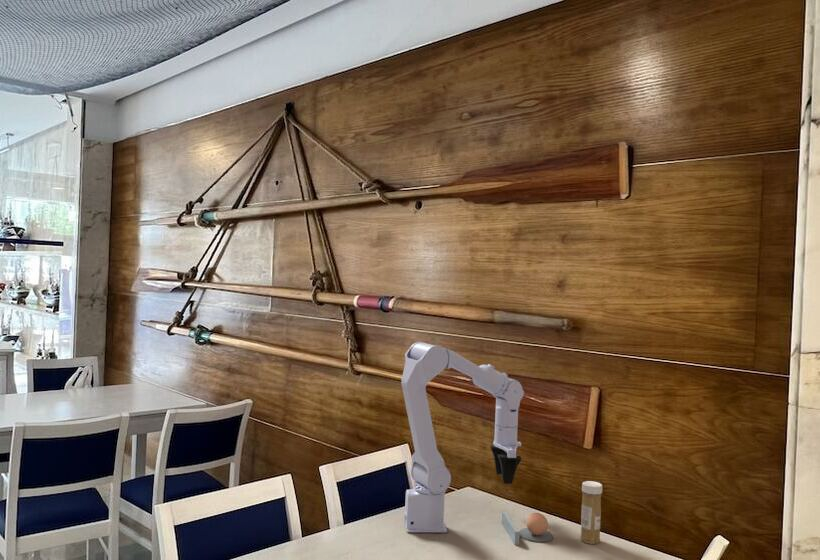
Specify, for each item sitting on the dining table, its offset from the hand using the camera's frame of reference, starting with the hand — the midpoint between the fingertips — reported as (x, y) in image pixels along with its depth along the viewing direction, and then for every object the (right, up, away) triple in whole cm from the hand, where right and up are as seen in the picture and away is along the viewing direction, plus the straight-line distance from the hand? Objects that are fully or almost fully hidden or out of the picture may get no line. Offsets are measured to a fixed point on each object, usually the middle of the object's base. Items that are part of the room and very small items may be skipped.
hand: (504, 478), depth 169 cm
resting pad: (+6, -10, -12) cm, 17 cm away
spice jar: (+18, -10, -14) cm, 25 cm away
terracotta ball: (+6, -9, -12) cm, 17 cm away
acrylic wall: (0, -10, -12) cm, 15 cm away
